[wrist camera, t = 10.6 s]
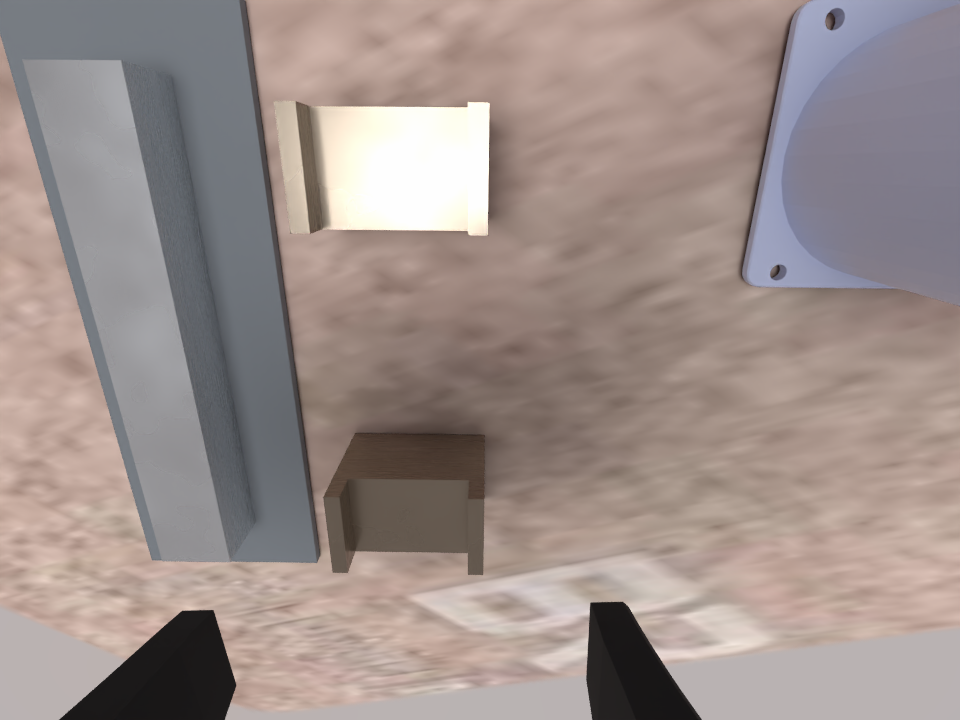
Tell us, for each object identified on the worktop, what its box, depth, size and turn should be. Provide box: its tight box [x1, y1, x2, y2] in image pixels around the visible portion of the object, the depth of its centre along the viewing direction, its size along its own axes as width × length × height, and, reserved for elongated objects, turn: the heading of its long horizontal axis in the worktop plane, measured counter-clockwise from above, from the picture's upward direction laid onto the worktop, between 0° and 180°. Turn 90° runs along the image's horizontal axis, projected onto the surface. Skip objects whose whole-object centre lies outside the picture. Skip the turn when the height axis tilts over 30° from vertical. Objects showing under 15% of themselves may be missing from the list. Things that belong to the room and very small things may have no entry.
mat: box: [0, 0, 320, 563], centre depth 18 cm, size 7×20×1 cm, turn 0°
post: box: [323, 433, 485, 575], centre depth 18 cm, size 5×3×4 cm, turn 90°
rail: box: [22, 59, 256, 562], centre depth 16 cm, size 2×16×2 cm, turn 179°
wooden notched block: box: [274, 101, 489, 235], centre depth 14 cm, size 5×3×4 cm, turn 90°
